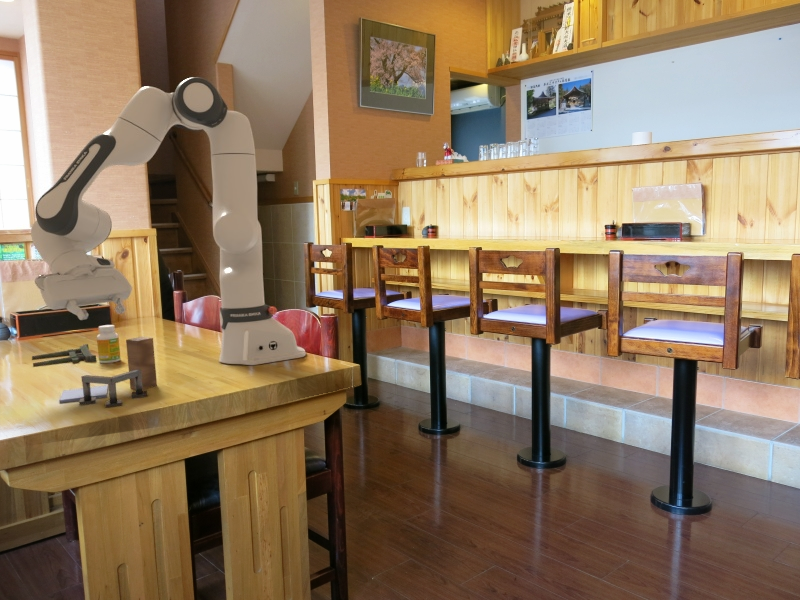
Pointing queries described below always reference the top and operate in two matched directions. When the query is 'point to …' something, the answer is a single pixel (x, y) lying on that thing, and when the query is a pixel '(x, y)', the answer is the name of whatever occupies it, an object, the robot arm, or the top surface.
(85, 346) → the miniature torii gate
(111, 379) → the bent rail on posts
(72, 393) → the pad
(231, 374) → the top surface
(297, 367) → the top surface
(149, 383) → the walnut peg
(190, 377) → the top surface
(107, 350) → the supplement bottle
